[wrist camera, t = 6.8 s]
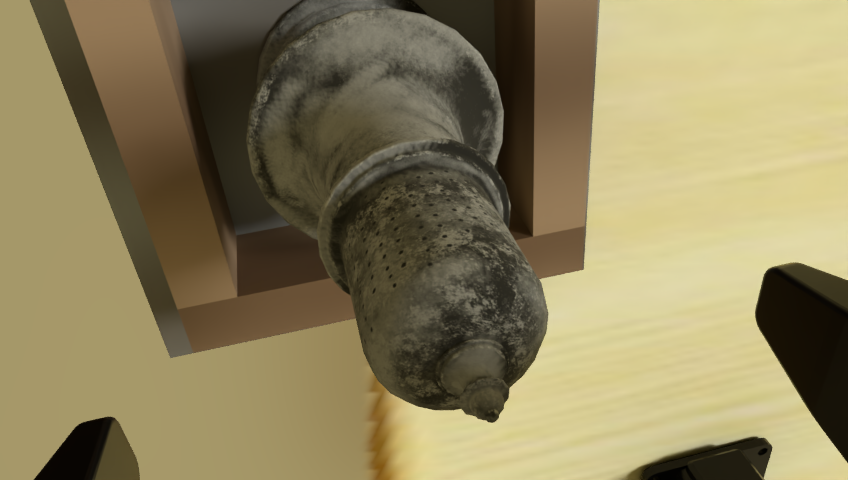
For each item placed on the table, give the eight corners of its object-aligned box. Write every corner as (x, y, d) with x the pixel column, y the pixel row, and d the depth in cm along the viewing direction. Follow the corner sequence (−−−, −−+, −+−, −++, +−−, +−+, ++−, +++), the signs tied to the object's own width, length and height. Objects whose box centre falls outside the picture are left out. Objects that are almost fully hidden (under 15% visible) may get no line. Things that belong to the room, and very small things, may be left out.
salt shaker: (203, 121, 18) (166, 514, 8) (321, -80, 16) (451, 124, 6) (385, 214, 21) (517, 589, 11) (505, 51, 19) (791, 333, 9)
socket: (576, 259, 25) (623, 324, 22) (171, 345, 22) (162, 429, 20) (606, -317, 16) (693, -341, 13) (-63, -261, 14) (-144, -274, 11)
